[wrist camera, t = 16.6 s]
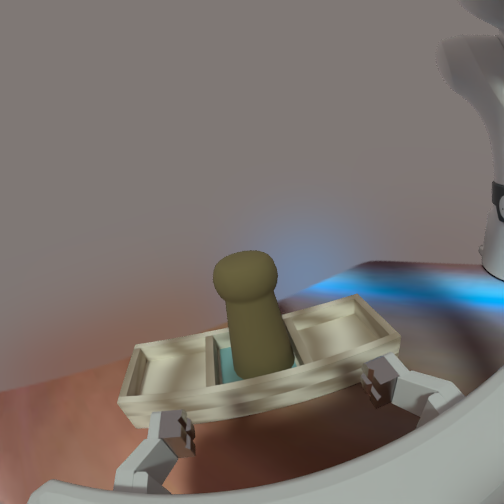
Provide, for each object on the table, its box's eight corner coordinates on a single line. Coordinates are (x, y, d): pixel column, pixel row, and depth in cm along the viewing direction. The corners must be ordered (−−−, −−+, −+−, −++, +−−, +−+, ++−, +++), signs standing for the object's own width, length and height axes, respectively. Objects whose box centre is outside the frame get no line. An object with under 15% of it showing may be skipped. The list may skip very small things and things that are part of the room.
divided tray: (357, 321, 31) (357, 293, 30) (396, 366, 23) (401, 336, 21) (148, 370, 29) (135, 344, 28) (136, 428, 21) (117, 402, 19)
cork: (228, 351, 28) (201, 254, 24) (282, 335, 29) (266, 237, 25) (240, 390, 22) (206, 280, 18) (304, 369, 23) (290, 257, 19)
